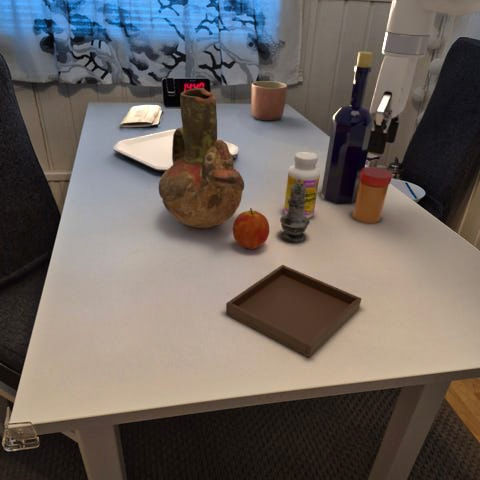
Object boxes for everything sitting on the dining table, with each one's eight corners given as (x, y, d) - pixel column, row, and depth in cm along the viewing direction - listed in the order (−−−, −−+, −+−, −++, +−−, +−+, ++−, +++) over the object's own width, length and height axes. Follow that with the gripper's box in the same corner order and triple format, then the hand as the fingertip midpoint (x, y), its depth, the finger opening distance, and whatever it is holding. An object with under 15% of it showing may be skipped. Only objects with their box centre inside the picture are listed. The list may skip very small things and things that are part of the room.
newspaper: (158, 128, 146) (156, 120, 145) (121, 131, 147) (119, 123, 145) (166, 110, 164) (164, 103, 162) (133, 113, 164) (131, 105, 163)
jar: (384, 216, 99) (395, 174, 93) (372, 225, 95) (383, 182, 89) (360, 208, 102) (369, 167, 96) (347, 217, 98) (356, 174, 92)
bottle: (360, 192, 110) (390, 51, 91) (356, 207, 103) (388, 57, 84) (323, 186, 112) (345, 48, 93) (317, 200, 105) (339, 53, 86)
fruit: (253, 234, 90) (255, 196, 85) (275, 248, 86) (278, 210, 81) (225, 243, 87) (225, 205, 82) (246, 258, 82) (248, 219, 78)
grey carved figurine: (309, 232, 92) (317, 175, 84) (304, 245, 87) (312, 186, 80) (281, 228, 93) (287, 171, 85) (275, 240, 88) (281, 181, 81)
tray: (359, 308, 71) (361, 298, 70) (309, 357, 62) (311, 346, 61) (281, 274, 79) (282, 264, 77) (225, 314, 69) (226, 303, 68)
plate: (184, 133, 143) (184, 126, 141) (248, 157, 127) (249, 149, 126) (104, 152, 126) (103, 144, 125) (167, 181, 111) (167, 173, 109)
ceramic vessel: (192, 262, 81) (187, 115, 65) (143, 207, 98) (130, 81, 83) (271, 242, 88) (284, 105, 72) (212, 194, 105) (212, 76, 90)
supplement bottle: (297, 223, 95) (305, 162, 87) (277, 211, 99) (283, 153, 91) (320, 215, 98) (329, 157, 90) (299, 205, 102) (307, 148, 94)
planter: (267, 124, 155) (269, 89, 148) (243, 116, 162) (244, 83, 155) (291, 118, 162) (294, 85, 155) (267, 111, 169) (269, 79, 162)
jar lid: (395, 180, 94) (397, 172, 93) (382, 189, 90) (384, 180, 89) (367, 173, 97) (369, 164, 96) (353, 181, 93) (355, 172, 92)
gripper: (395, 38, 86) (374, 133, 97) (370, 48, 74) (349, 155, 85) (435, 43, 83) (408, 139, 94) (416, 53, 71) (388, 163, 82)
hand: (380, 146), depth 89 cm, fingers open, 8 cm apart
